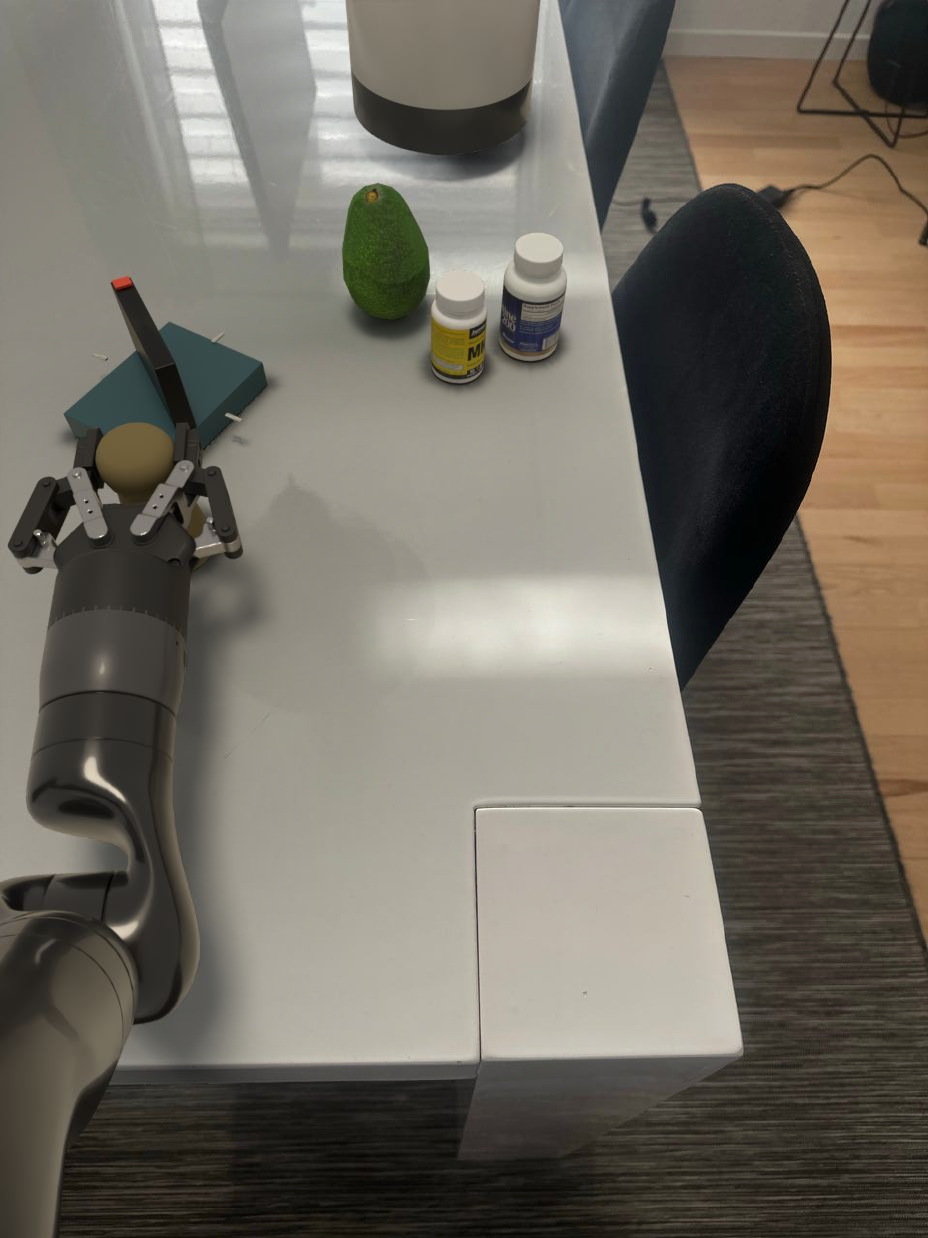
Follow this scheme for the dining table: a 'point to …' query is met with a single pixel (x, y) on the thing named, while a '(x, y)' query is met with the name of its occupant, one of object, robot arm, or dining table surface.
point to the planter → (442, 71)
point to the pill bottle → (533, 298)
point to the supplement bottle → (458, 327)
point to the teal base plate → (208, 376)
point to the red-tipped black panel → (153, 352)
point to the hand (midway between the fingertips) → (142, 434)
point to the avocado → (384, 254)
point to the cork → (140, 466)
